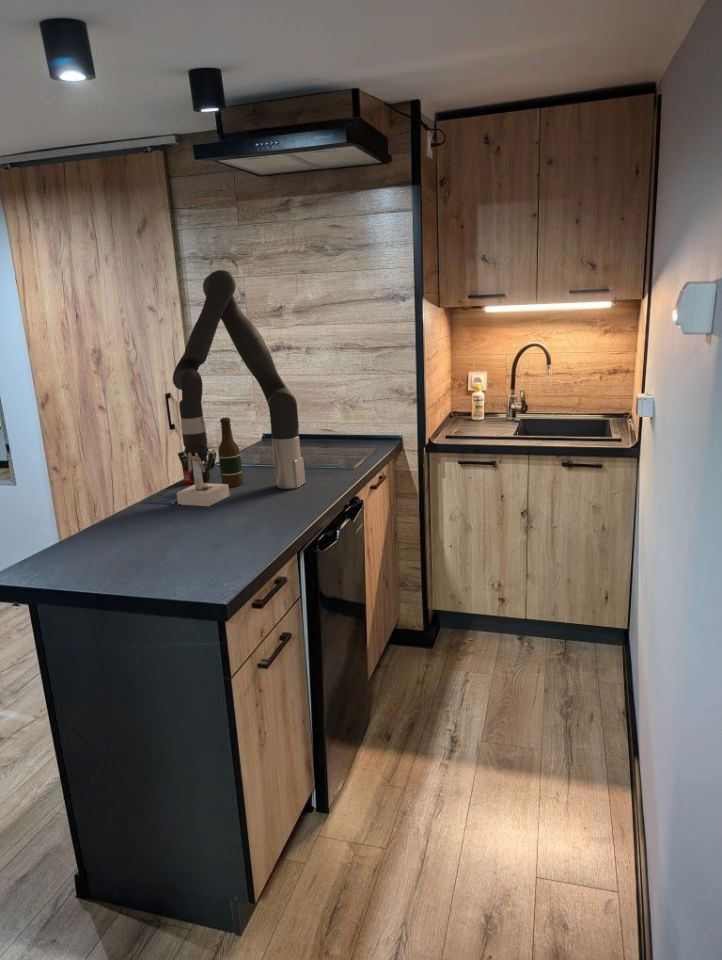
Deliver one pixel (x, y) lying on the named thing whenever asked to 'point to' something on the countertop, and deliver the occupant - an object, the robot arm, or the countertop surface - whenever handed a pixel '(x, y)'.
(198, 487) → the plug
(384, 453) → the countertop surface
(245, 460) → the countertop surface
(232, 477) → the beer bottle
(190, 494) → the socket block
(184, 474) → the canned food
